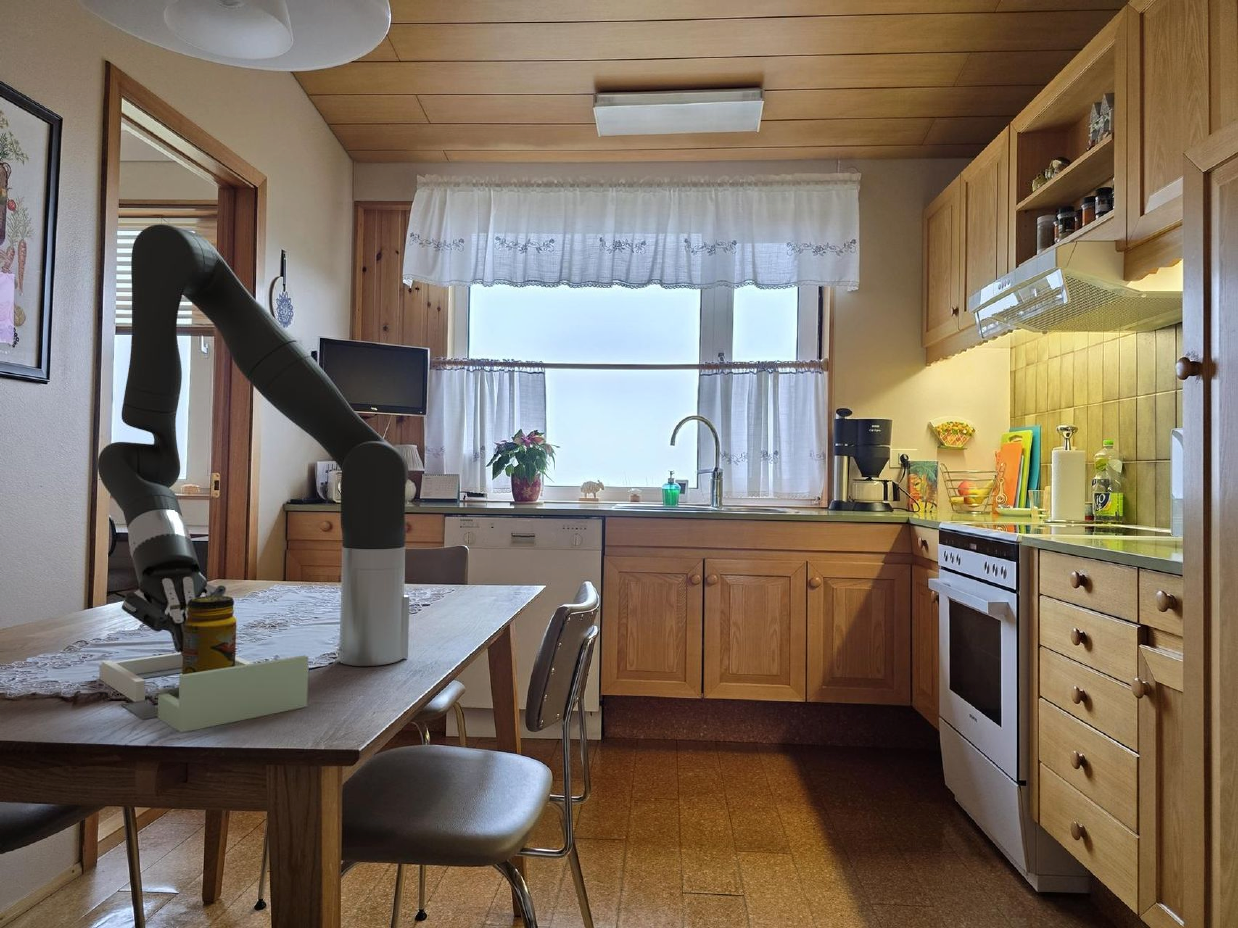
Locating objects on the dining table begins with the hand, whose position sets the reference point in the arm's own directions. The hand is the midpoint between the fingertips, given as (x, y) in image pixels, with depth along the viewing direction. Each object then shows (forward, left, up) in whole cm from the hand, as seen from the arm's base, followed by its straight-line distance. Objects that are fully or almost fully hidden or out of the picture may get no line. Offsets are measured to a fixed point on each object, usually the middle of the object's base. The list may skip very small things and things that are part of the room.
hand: (190, 651), depth 102 cm
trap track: (0, +2, -5) cm, 5 cm away
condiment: (0, +3, -5) cm, 6 cm away
